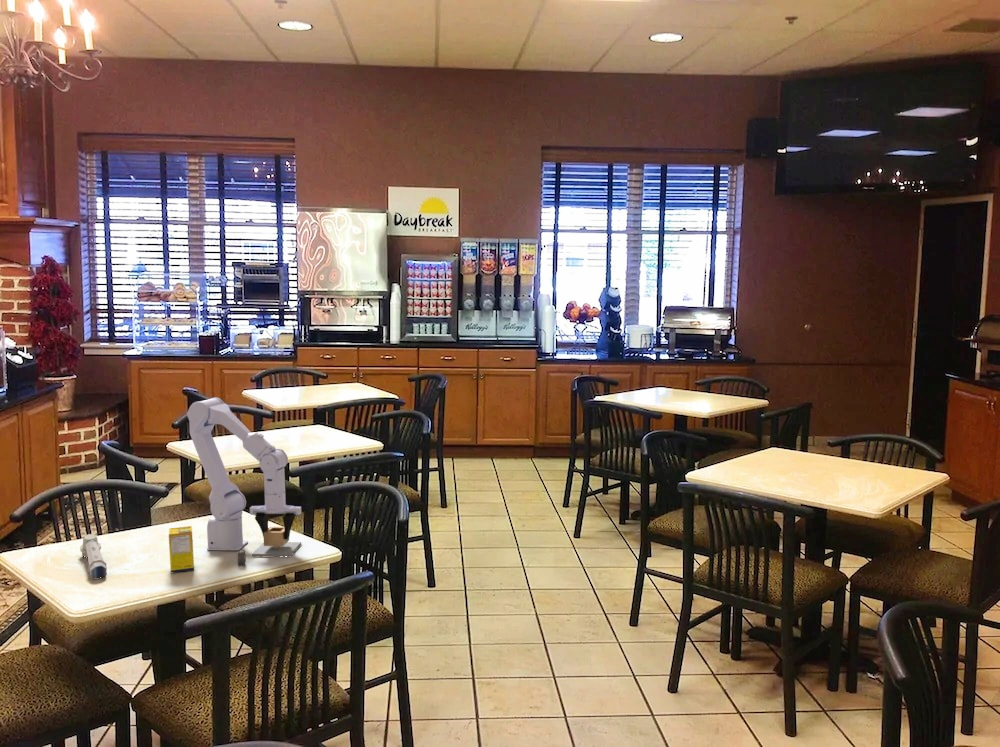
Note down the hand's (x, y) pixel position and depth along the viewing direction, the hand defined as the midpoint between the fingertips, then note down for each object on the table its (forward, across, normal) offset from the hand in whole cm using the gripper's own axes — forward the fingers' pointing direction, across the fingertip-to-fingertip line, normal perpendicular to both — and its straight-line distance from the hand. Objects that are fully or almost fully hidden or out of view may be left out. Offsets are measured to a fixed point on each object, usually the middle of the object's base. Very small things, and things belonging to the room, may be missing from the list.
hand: (276, 538), depth 242 cm
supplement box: (+4, -21, -16) cm, 27 cm away
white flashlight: (+4, -46, -14) cm, 49 cm away
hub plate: (+4, 0, 0) cm, 4 cm away
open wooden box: (+1, 0, 0) cm, 1 cm away
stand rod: (+4, -6, -12) cm, 14 cm away
